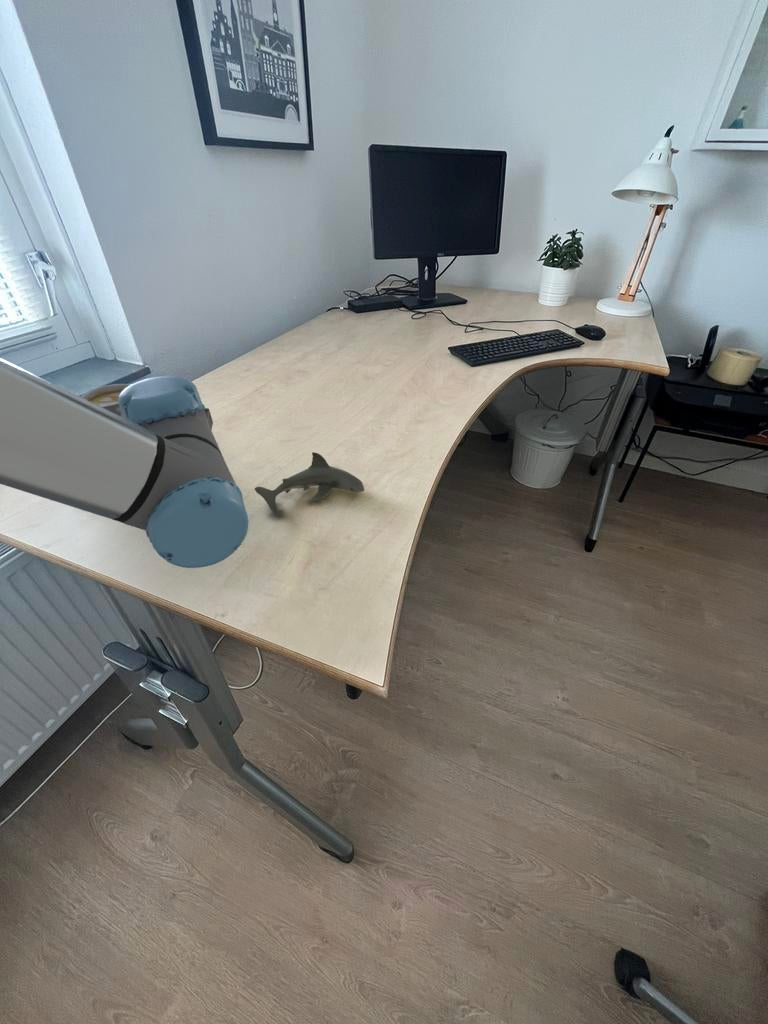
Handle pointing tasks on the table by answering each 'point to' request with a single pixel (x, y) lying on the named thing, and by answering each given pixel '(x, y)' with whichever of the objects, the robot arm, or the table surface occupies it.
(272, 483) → the table surface
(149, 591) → the table surface
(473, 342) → the table surface
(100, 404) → the coffee mug
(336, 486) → the shark figurine
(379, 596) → the table surface
